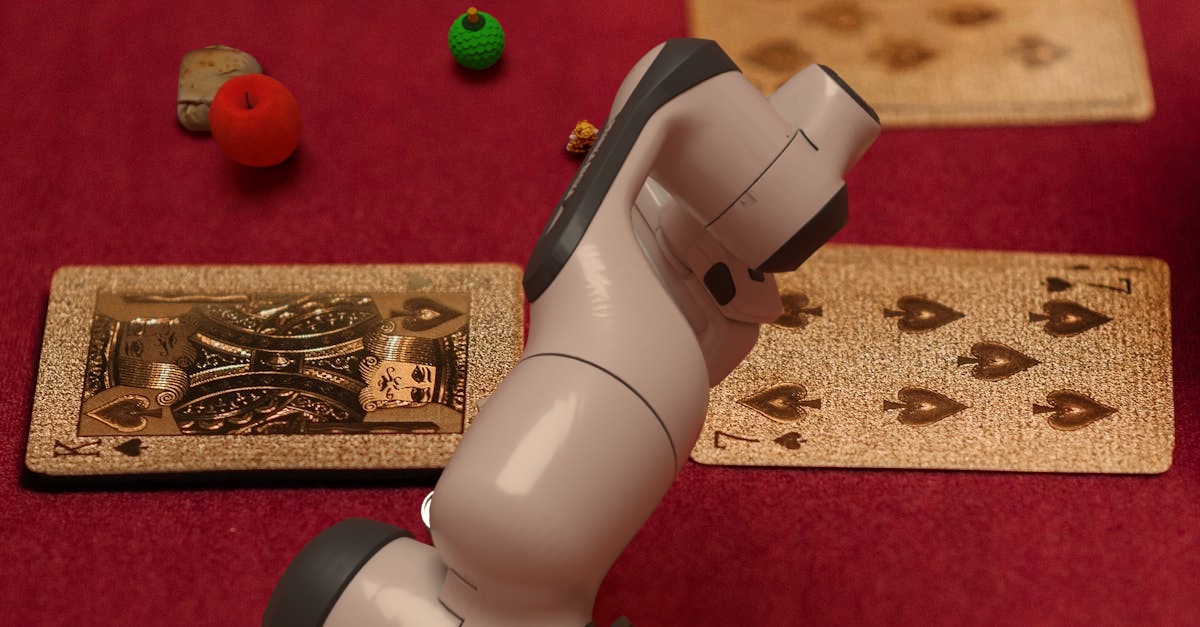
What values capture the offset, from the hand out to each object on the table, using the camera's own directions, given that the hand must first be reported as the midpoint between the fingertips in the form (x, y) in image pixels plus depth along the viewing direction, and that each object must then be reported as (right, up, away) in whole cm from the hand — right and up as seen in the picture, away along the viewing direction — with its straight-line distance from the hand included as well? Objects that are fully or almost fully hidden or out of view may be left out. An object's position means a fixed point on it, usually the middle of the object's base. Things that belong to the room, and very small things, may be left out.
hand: (604, 334), depth 95 cm
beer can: (-17, -25, +29) cm, 41 cm away
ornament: (-18, +39, +64) cm, 77 cm away
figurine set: (+3, +26, +57) cm, 62 cm away
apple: (-46, +24, +56) cm, 77 cm away
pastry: (-55, +33, +61) cm, 88 cm away
